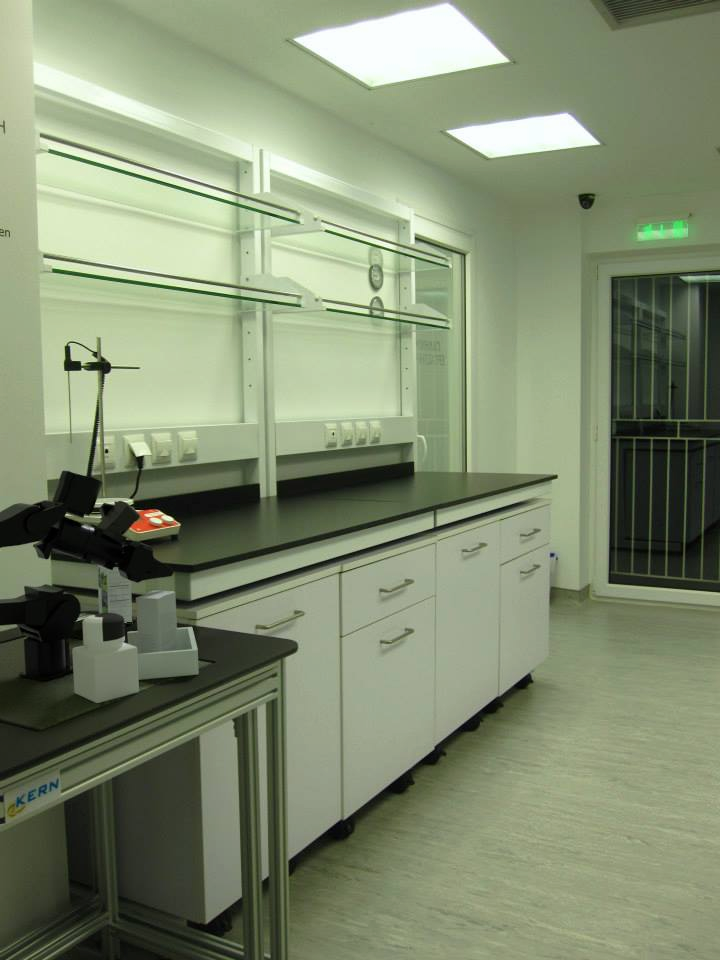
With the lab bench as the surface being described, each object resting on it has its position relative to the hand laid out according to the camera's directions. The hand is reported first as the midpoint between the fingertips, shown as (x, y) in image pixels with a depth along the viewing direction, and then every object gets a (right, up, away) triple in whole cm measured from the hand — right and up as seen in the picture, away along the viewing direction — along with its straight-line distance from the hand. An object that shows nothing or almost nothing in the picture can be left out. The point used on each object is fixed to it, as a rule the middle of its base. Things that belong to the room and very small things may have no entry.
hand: (161, 568), depth 158 cm
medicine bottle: (-3, -17, -22) cm, 28 cm away
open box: (+2, -15, -7) cm, 17 cm away
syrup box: (-14, -13, +21) cm, 28 cm away
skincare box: (+1, -16, -8) cm, 17 cm away
